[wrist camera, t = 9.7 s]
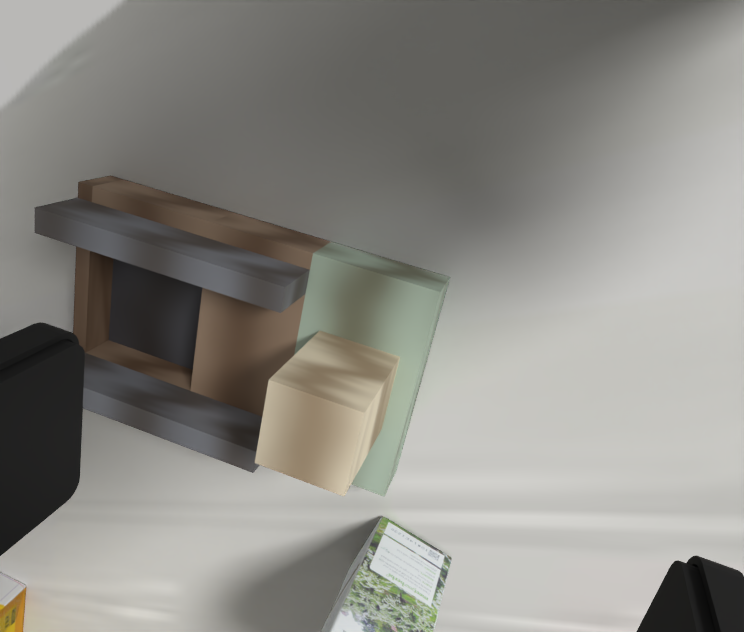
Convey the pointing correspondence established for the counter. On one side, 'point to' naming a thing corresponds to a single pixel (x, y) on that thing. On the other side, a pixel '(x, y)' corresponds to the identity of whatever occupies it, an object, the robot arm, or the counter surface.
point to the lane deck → (227, 316)
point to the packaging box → (11, 604)
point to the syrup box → (391, 585)
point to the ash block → (326, 411)
